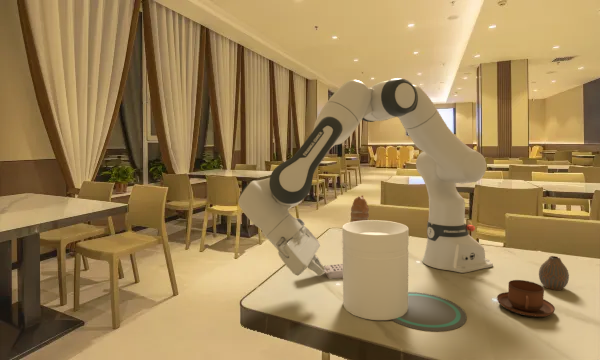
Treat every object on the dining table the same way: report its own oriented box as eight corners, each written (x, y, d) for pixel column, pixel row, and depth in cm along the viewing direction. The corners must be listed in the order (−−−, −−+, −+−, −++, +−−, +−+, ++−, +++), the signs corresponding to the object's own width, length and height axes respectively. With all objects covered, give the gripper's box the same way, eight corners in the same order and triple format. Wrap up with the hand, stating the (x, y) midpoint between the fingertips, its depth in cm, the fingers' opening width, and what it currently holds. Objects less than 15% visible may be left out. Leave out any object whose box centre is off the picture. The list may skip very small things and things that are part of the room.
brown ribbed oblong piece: (364, 239, 152) (365, 197, 150) (347, 236, 156) (347, 196, 154) (371, 234, 159) (372, 195, 157) (354, 232, 163) (355, 193, 161)
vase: (559, 294, 96) (561, 262, 95) (532, 285, 102) (534, 255, 101) (572, 289, 99) (575, 258, 98) (546, 280, 105) (548, 252, 104)
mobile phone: (300, 256, 111) (375, 251, 115) (300, 274, 112) (375, 268, 116) (303, 263, 105) (383, 257, 110) (304, 282, 106) (382, 275, 110)
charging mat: (416, 279, 107) (416, 271, 107) (486, 324, 80) (486, 314, 80) (354, 285, 102) (354, 277, 102) (406, 336, 75) (407, 325, 75)
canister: (356, 287, 100) (356, 218, 98) (414, 298, 92) (415, 223, 90) (332, 311, 87) (331, 230, 85) (398, 326, 79) (398, 238, 77)
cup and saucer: (565, 323, 81) (567, 297, 80) (508, 319, 83) (509, 294, 82) (538, 300, 92) (540, 277, 92) (489, 297, 94) (490, 275, 94)
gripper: (283, 235, 82) (325, 280, 81) (302, 217, 102) (336, 253, 101) (265, 253, 84) (305, 297, 82) (287, 232, 103) (320, 267, 102)
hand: (322, 272), depth 92 cm, fingers closed
